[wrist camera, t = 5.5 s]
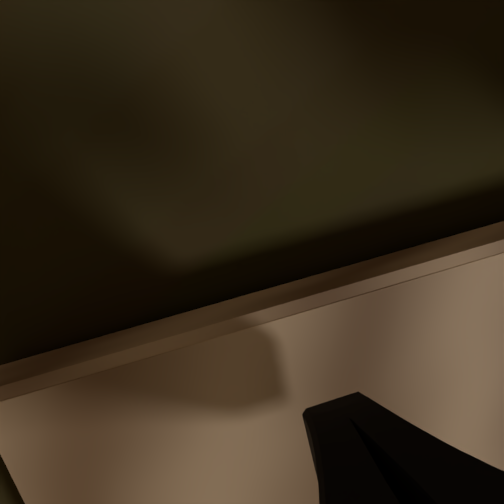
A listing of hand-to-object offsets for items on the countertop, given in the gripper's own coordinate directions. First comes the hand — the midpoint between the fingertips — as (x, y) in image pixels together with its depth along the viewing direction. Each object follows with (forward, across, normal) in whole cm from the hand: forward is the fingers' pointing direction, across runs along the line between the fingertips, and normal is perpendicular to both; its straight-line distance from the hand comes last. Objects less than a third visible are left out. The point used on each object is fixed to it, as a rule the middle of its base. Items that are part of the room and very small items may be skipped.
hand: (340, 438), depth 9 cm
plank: (+3, -2, +1) cm, 4 cm away
